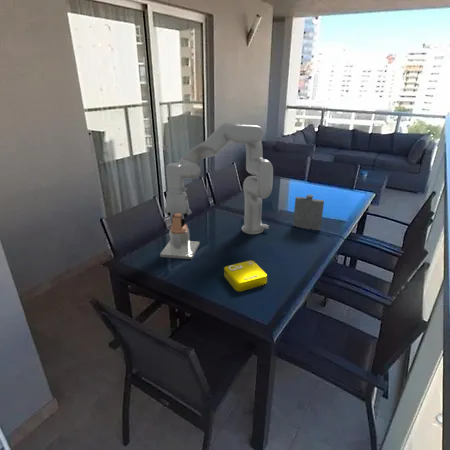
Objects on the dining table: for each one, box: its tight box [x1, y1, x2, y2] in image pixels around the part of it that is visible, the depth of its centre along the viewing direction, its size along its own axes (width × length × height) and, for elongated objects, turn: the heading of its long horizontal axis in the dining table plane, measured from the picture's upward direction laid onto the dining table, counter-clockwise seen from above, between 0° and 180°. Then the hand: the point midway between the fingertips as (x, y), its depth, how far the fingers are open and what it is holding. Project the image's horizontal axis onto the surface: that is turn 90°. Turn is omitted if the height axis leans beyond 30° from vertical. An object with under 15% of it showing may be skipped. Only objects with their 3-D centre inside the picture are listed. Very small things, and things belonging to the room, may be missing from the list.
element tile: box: [223, 260, 268, 292], centre depth 139 cm, size 15×15×5 cm
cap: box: [170, 213, 189, 234], centre depth 158 cm, size 8×8×10 cm
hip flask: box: [292, 194, 325, 231], centre depth 183 cm, size 16×4×20 cm, turn 65°
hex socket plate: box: [159, 228, 201, 260], centre depth 161 cm, size 16×16×12 cm
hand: (178, 224), depth 158 cm, fingers closed on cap, 3 cm apart
